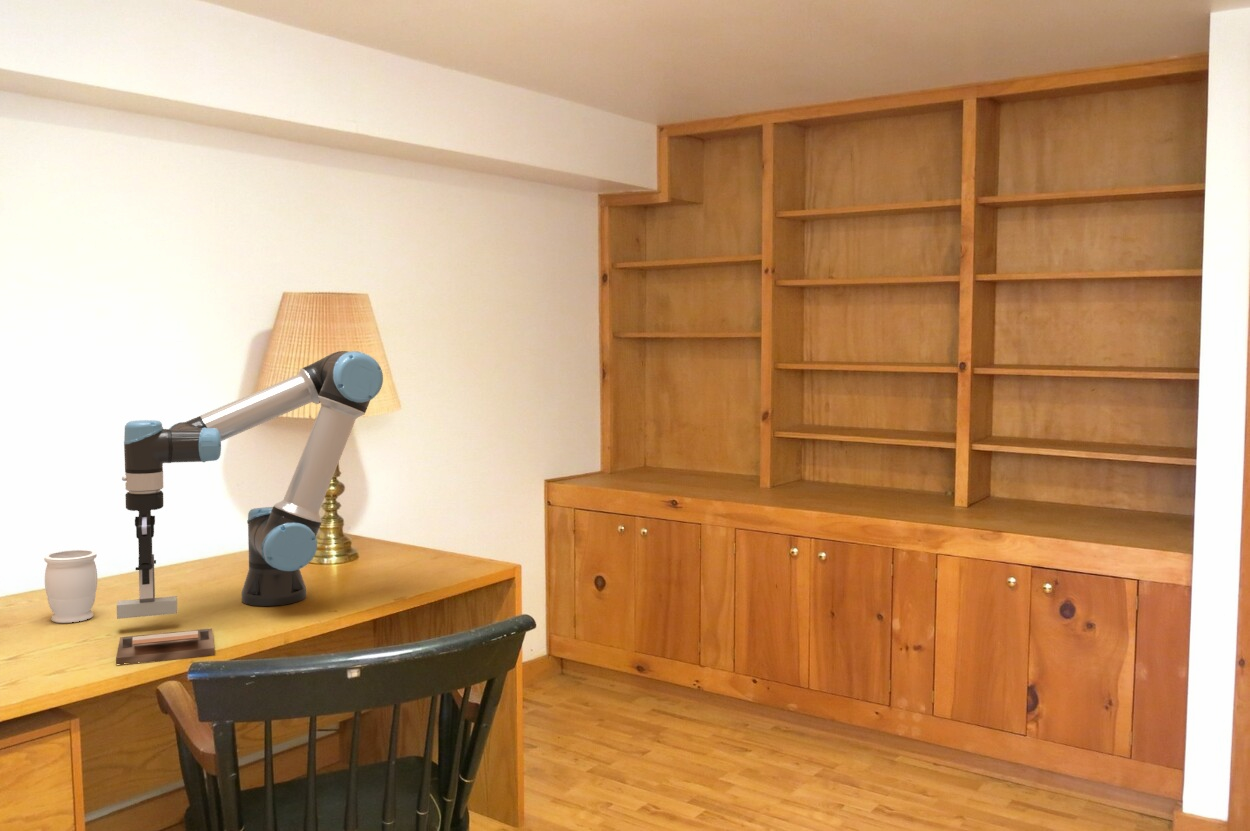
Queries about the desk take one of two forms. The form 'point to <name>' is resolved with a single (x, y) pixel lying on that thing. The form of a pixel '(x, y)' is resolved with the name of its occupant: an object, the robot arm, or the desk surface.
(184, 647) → the board
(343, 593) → the desk surface
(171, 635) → the tile
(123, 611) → the paddle
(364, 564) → the desk surface
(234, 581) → the desk surface
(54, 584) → the jar
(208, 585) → the desk surface
